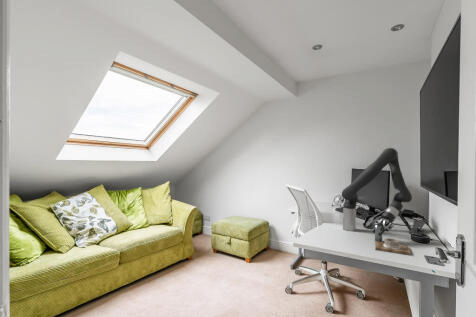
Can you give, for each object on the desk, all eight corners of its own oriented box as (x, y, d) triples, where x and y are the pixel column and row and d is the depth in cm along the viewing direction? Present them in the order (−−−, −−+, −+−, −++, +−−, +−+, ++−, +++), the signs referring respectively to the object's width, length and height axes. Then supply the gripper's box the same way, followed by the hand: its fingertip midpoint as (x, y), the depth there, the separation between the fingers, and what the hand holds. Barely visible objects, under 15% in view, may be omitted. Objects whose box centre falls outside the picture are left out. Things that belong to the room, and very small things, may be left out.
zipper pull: (426, 221, 199) (422, 227, 180) (426, 229, 199) (422, 236, 180) (413, 219, 205) (407, 225, 186) (413, 227, 205) (407, 234, 186)
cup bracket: (375, 249, 152) (375, 241, 152) (375, 243, 165) (375, 235, 165) (410, 255, 144) (410, 245, 144) (407, 248, 156) (407, 239, 156)
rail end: (374, 241, 168) (374, 223, 168) (374, 239, 172) (374, 222, 172) (382, 242, 166) (382, 224, 166) (382, 240, 170) (382, 222, 170)
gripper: (378, 208, 178) (365, 227, 175) (396, 213, 164) (381, 232, 161) (384, 215, 180) (371, 233, 176) (402, 220, 166) (388, 240, 162)
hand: (376, 233), depth 169 cm, fingers closed on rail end, 4 cm apart
